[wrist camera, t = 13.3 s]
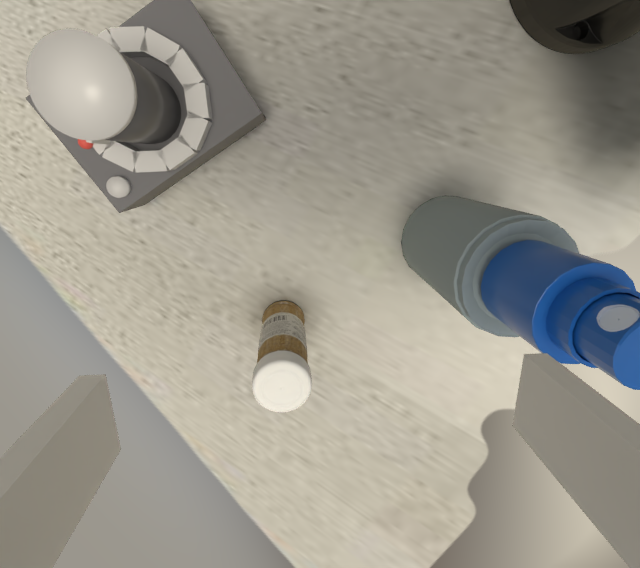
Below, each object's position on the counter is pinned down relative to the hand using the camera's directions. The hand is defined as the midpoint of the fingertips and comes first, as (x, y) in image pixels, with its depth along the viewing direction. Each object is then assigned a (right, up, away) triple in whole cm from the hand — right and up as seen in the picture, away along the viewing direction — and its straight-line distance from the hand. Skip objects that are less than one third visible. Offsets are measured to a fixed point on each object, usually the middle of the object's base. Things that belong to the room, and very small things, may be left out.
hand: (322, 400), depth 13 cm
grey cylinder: (-13, +17, +17) cm, 27 cm away
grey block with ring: (-14, +19, +23) cm, 33 cm away
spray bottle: (+13, +8, +28) cm, 32 cm away
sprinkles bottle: (-4, 0, +30) cm, 30 cm away
